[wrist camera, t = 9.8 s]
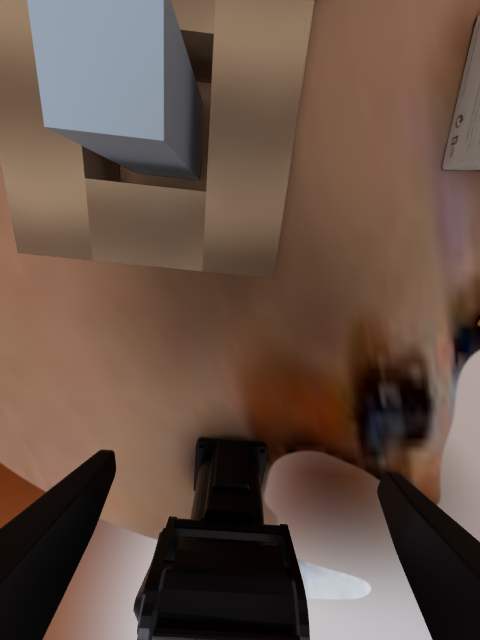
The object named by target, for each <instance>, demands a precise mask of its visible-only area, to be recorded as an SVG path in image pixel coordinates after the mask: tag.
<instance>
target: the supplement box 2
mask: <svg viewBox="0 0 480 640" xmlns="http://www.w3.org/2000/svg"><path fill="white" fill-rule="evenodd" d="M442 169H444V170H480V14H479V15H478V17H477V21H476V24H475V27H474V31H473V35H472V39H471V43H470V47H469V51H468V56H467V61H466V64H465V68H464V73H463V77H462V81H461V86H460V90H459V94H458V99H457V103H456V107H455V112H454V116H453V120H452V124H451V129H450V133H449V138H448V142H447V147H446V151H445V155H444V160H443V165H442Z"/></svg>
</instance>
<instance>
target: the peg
mask: <svg viewBox="0 0 480 640" xmlns="http://www.w3.org/2000/svg"><path fill="white" fill-rule="evenodd" d="M27 3H28V10H29V18H30V25H31V32H32V40H33V47H34V54H35V62H36V69H37V77H38V84H39V91H40V99H41V106H42V113H43V121H44V127H46V128H48V129H50V130H52V131H54V132H56V133H58V134H59V135H61V136H63V137H65V138H67V139H69V140H71V141H73V142H75V143H77V144H79V145H81V146H83V147H85V148H87V149H89V150H91V151H93V152H95V153H97V154H99V155H101V156H103V157H105V158H107V159H109V160H111V161H113V162H115V163H117V164H119V165H121V166H123V167H125V168H127V169H129V170H131V171H133V172H135V173H139V174H148V175H156V176H165V177H174V178H183V179H192V180H200V161H201V136H202V112H203V102H202V99H201V96H200V92H199V89H198V86H197V83H196V79H195V76H194V73H193V70H192V67H191V63H190V60H189V57H188V54H187V50H186V47H185V44H184V41H183V38H182V34H181V31H180V28H179V25H178V22H177V18H176V15H175V12H174V9H173V5H172V2H171V0H27Z"/></svg>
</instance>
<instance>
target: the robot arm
mask: <svg viewBox="0 0 480 640" xmlns="http://www.w3.org/2000/svg"><path fill="white" fill-rule="evenodd" d="M201 444H203V445H201ZM261 449H262V450H261ZM267 453H268V448H267V445H266V444H264V443H254V442H241V441H229V440H216V439H204V438H201V439H198V440H197V444H196V456H195V475H194V491H195V495H194V501H193V507H192V513H191V519H177V517H171V516H169V519H168V522H167V525H166V528H163V531H162V532H161V533H160V534H159V538H158V542H157V546H156V550H155V553H154V557H153V560H152V562H151V565H150V567H149V569H148V572H147V574H146V576H145V578H144V581H143V583H142V585H141V587H140V590H139V592H138V595H137V597H136V600H135V604H134V613H135V615H136V618H137V620H138V630H137V634H138V638H137V640H310V635H309V619H308V608H307V600H306V595H305V589H304V585H303V580H302V577H301V573H300V569H299V566H298V562H297V558H296V554H295V551H294V547H293V543H292V540H291V536H290V532H289V529H288V525H287V524H280V525H265V524H264V516H263V503H262V491H261V487H262V481H263V475H264V470H265V464H266V459H267ZM115 473H116V462H115V453H114V451H113V450H100V451H98V452H97V453H96V454H94V455H93V456H92V457H90V458H89V459H88V460H87V461H85V462H84V463H83V464H82V465H80V466H79V467H78V468H77V469H75V470H74V471H73V472H71V473H70V474H69V475H68V476H66V477H65V478H64V479H63V480H61V481H60V482H59V483H57V484H56V485H55V486H54V487H52V488H51V489H50V490H49V491H47V492H46V493H45V494H44V495H42V496H41V497H40V498H38V499H37V500H36V501H35V502H34V503H32V504H31V505H30V506H28V507H27V508H26V509H25V510H23V511H22V512H21V513H19V514H18V515H17V516H16V517H14V518H13V519H12V520H11V521H9V522H8V523H7V524H5V525H4V526H3V527H2V528H0V640H43V638H44V636H45V633H46V631H47V629H48V627H49V625H50V623H51V621H52V619H53V617H54V615H55V613H56V610H57V608H58V606H59V604H60V602H61V600H62V598H63V596H64V594H65V591H66V589H67V587H68V585H69V583H70V581H71V579H72V577H73V574H74V573H75V571H76V568H77V566H78V564H79V562H80V560H81V558H82V556H83V554H84V552H85V550H86V547H87V545H88V543H89V541H90V539H91V537H92V534H93V532H94V530H95V527H96V525H97V522H98V520H99V517H100V514H101V512H102V509H103V506H104V504H105V501H106V498H107V496H108V493H109V490H110V488H111V485H112V482H113V480H114V477H115ZM377 493H378V497H379V501H380V504H381V507H382V510H383V513H384V516H385V519H386V522H387V525H388V528H389V531H390V535H391V538H392V541H393V544H394V547H395V549H396V552H397V555H398V557H399V560H400V562H401V564H402V567H403V569H404V572H405V574H406V577H407V579H408V582H409V584H410V586H411V589H412V591H413V594H414V596H415V598H416V601H417V603H418V606H419V608H420V610H421V612H422V615H423V617H424V620H425V623H426V625H427V627H428V630H429V632H430V635H431V637H432V639H433V640H480V542H479V541H478V540H477V539H475V538H474V537H473V536H472V535H471V534H470V533H468V532H467V531H466V530H465V529H464V528H463V527H461V526H460V525H459V524H458V523H457V522H456V521H454V520H453V519H452V518H451V517H450V516H449V515H447V514H446V513H445V512H444V511H443V510H441V509H440V508H439V507H438V506H437V505H436V504H435V503H433V502H432V501H431V500H430V499H429V498H427V497H426V496H425V495H424V494H423V493H422V492H420V491H419V490H418V489H417V488H416V487H415V486H413V485H412V484H411V483H410V482H409V481H408V480H406V479H405V478H404V477H403V476H402V475H400V474H399V473H397V472H389V471H386V472H384V473H383V476H382V478H381V481H380V483H379V486H378V491H377Z"/></svg>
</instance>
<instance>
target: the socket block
mask: <svg viewBox="0 0 480 640" xmlns="http://www.w3.org/2000/svg"><path fill="white" fill-rule="evenodd" d="M171 2H172V5H173V9H174V12H175V15H176V18H177V22H178V25H179V28H180V31H181V34H182V38H183V41H184V44H185V47H186V50H187V54H188V57H189V60H190V63H191V67H192V70H193V73H194V76H195V79H196V81H204V82H212V83H211V104H210V124H209V145H208V165H207V186H206V192H204V191H195V190H186V189H177V188H168V187H159V186H150V185H141V184H132V183H123V182H120V170H119V164H117V163H115V162H113V161H111V160H109V159H107V158H105V157H103V156H101V155H99V154H97V153H95V152H93V151H91V150H89V149H87V148H85V147H83V146H81V145H79V144H77V143H75V142H73V141H71V140H69V139H67V138H65V137H63V136H61V135H59V134H58V133H56V132H54V131H52V130H50V129H48V128H46V127H44V121H43V113H42V106H41V99H40V91H39V84H38V77H37V69H36V62H35V54H34V47H33V40H32V32H31V25H30V18H29V10H28V3H27V0H0V162H1V168H2V173H3V178H4V183H5V188H6V193H7V199H8V204H9V209H10V214H11V219H12V224H13V229H14V235H15V240H16V245H17V250H18V253H23V254H33V255H43V256H53V257H63V258H73V259H83V260H93V261H103V262H113V263H123V264H133V265H143V266H153V267H163V268H173V269H183V270H193V271H202V272H212V273H222V274H232V275H242V276H252V277H262V278H272V279H274V274H275V267H276V260H277V253H278V246H279V239H280V233H281V226H282V219H283V212H284V205H285V198H286V192H287V185H288V178H289V171H290V164H291V157H292V151H293V144H294V137H295V130H296V123H297V116H298V110H299V103H300V96H301V89H302V82H303V75H304V69H305V62H306V55H307V48H308V41H309V35H310V28H311V21H312V14H313V7H314V0H171Z"/></svg>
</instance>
